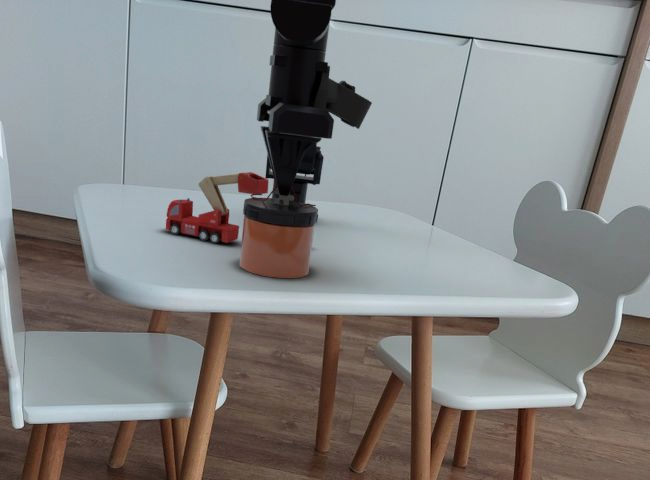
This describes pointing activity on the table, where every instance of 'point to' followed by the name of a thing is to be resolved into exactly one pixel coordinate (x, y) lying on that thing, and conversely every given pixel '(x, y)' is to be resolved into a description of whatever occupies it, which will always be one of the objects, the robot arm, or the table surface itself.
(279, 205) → the jar lid
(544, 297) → the table surface
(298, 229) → the jar
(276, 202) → the pendant
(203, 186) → the toy fire truck
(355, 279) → the table surface
